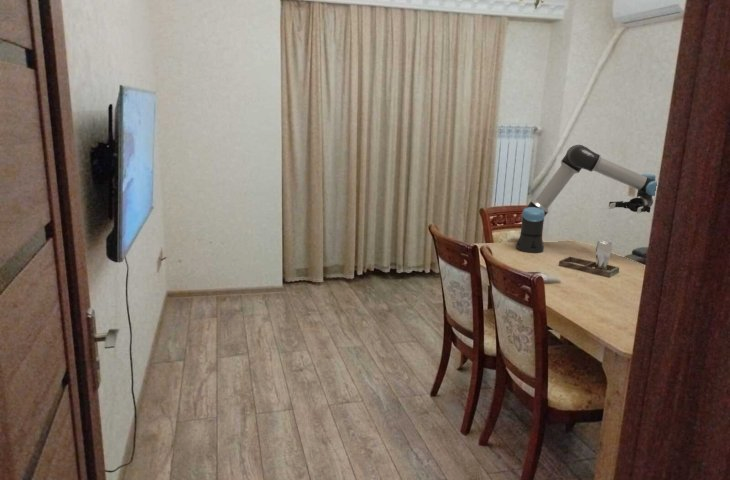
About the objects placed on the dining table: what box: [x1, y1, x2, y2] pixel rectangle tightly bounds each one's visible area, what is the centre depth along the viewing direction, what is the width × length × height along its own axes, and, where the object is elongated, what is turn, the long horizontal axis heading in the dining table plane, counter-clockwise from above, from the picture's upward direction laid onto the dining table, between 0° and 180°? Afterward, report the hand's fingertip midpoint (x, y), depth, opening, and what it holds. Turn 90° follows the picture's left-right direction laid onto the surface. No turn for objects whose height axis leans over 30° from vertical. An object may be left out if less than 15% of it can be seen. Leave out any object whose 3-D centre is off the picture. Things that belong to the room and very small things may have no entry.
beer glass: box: [594, 240, 613, 271], centre depth 253 cm, size 7×7×15 cm
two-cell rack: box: [558, 256, 620, 278], centre depth 258 cm, size 25×13×2 cm, turn 46°
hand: (623, 208), depth 261 cm, fingers open, 13 cm apart
